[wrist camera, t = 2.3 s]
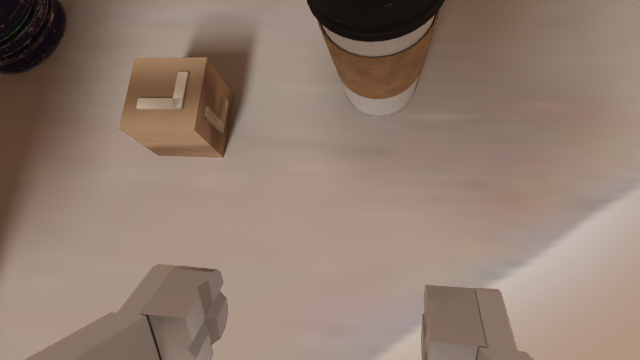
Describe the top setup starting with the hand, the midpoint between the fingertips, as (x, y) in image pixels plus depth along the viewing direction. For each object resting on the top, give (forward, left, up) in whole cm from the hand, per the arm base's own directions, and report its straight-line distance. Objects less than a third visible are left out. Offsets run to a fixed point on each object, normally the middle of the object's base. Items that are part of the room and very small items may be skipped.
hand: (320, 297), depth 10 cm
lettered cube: (+5, +21, -24) cm, 32 cm away
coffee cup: (+16, +9, -24) cm, 30 cm away
